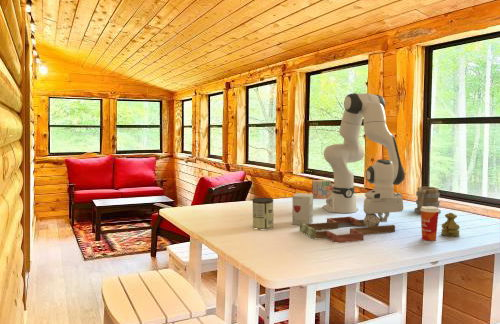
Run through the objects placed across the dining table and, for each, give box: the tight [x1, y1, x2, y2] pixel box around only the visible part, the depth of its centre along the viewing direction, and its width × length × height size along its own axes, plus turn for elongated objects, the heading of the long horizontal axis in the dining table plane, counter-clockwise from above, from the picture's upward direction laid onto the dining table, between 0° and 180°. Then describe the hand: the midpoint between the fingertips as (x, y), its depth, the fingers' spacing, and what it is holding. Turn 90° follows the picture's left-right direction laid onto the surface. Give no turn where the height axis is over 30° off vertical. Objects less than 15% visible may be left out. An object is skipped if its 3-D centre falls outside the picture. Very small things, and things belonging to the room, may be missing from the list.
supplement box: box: [291, 192, 314, 226], centre depth 215 cm, size 9×9×15 cm
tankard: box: [414, 186, 441, 215], centre depth 238 cm, size 20×13×15 cm, turn 134°
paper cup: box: [420, 206, 440, 242], centre depth 184 cm, size 8×8×14 cm
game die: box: [361, 212, 382, 227], centre depth 203 cm, size 9×8×10 cm
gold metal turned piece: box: [440, 212, 461, 238], centre depth 191 cm, size 7×7×10 cm
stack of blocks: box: [311, 179, 334, 200], centre depth 289 cm, size 21×6×12 cm, turn 88°
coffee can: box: [251, 197, 274, 230], centre depth 207 cm, size 10×10×14 cm
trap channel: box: [299, 216, 396, 243], centre depth 199 cm, size 32×42×4 cm
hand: (383, 221), depth 205 cm, fingers closed
